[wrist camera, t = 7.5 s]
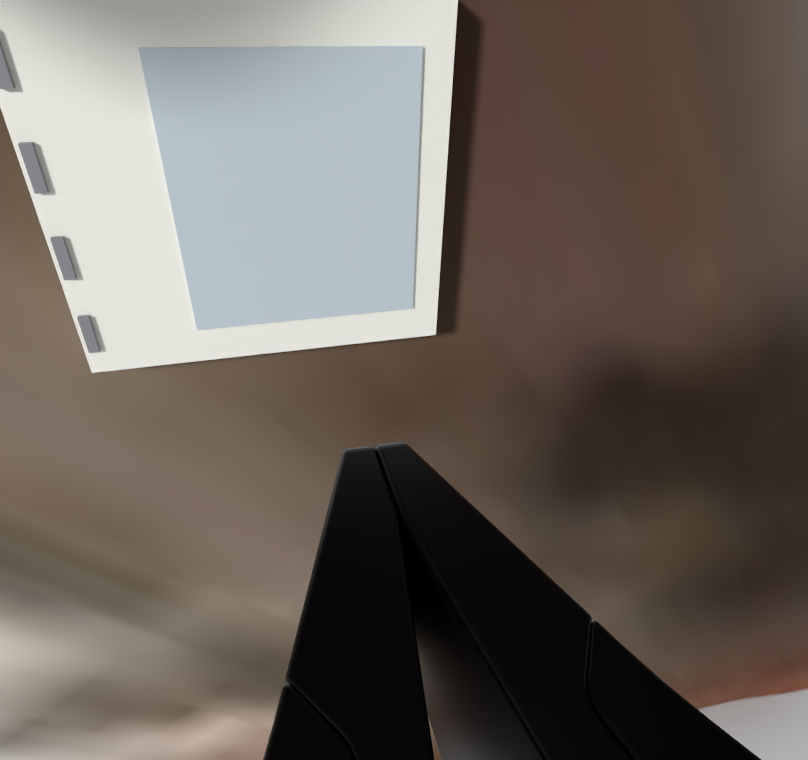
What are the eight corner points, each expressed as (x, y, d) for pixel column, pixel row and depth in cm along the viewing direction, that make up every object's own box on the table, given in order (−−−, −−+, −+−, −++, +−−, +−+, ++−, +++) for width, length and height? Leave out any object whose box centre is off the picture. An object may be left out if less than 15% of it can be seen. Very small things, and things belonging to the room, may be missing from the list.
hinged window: (444, -13, 16) (460, -10, 15) (426, 317, 22) (437, 337, 21) (-25, -21, 14) (-45, -17, 12) (98, 351, 19) (91, 375, 18)
